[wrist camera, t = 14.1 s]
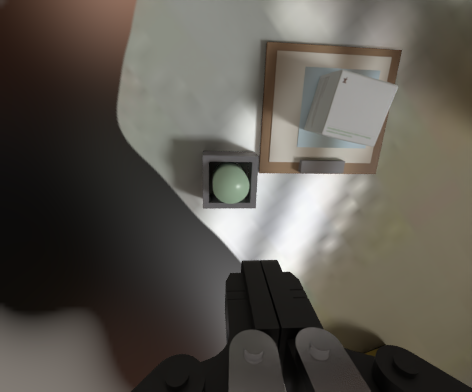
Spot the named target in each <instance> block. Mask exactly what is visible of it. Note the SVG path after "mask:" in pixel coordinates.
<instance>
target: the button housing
mask: <svg viewBox="0 0 472 392" xmlns="http://www.w3.org/2000/svg"><path fill="white" fill-rule="evenodd" d="M258 159H259V156H258V155H257V154H256V153H255V152H234V151H203V208H256V192H257V175H258ZM209 162H248V174H247V178H248V180H249V191H248V194H247V195H246V197H245V198H244V199H243V200H241V201H240V202H238V203H234V204H227V203H224V202H222V201H220V200H219V199H218V198H217V197H216V196H215V194H209Z"/></svg>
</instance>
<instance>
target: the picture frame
mask: <svg viewBox="0 0 472 392" xmlns="http://www.w3.org/2000/svg"><path fill="white" fill-rule="evenodd" d="M401 52H402V50H389V49H373V48H358V47H342V46H326V45H310V44H294V43H278V42H267V46H266V62H265V78H264V95H263V111H262V127H261V143H260V160H259V173H314V174H376V170H377V165H378V160H379V155H380V151H381V146H382V141H383V137H384V132H385V127H386V123H387V118H388V113H389V111H388V113H387V116H386V118H385V121H384V123H383V126H382V128H381V131H380V133H379V136H378V138H377V140H376V143H375V145H374V146H373V147H371V146H366V145H361V144H357V143H352V142H348V141H343V140H339V139H335V138H331V137H327V136H324V135H320V134H317V133H313V132H309V131H305V130H304V127H305V124H306V120H307V117H308V114H309V111H310V108H311V104H312V101H313V98H314V95H315V92H316V88H317V85H318V82H319V79H320V76H322V75H326V74H329V73H332V72H335V71H339V70H342V69H343V70H347V71H350V72H354V73H357V74H361V75H364V76H368V77H371V78H374V79H378V80H382V81H385V82H389V83H392V84H395V80H396V76H397V71H398V66H399V62H400V57H401Z"/></svg>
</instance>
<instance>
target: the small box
mask: <svg viewBox="0 0 472 392" xmlns="http://www.w3.org/2000/svg"><path fill="white" fill-rule="evenodd" d="M397 89H398V86H397V85H395V84H392V83H389V82H385V81H382V80H378V79H374V78H371V77H368V76H364V75H361V74H357V73H354V72H350V71H347V70H343V69H342V70H339V71H335V72H332V73H329V74H326V75H322V76H320V79H319V82H318V85H317V88H316V92H315V95H314V98H313V101H312V104H311V108H310V111H309V114H308V117H307V120H306V124H305V127H304V130H305V131H309V132H313V133H317V134H320V135H324V136H327V137H331V138H335V139H339V140H343V141H348V142H352V143H357V144H361V145H366V146H371V147H373V146H374V145H375V143H376V140H377V138H378V136H379V133H380V131H381V128H382V126H383V123H384V121H385V118H386V116H387V113H388V111H389V108H390V106H391V103H392V101H393V99H394V96H395V94H396V92H397Z"/></svg>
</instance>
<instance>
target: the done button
mask: <svg viewBox="0 0 472 392" xmlns="http://www.w3.org/2000/svg"><path fill="white" fill-rule="evenodd" d="M213 191H214V194H215V196H216V197H217V198H218V199H219V200H220V201H222V202H224V203H227V204H234V203H238V202H240V201H241V200H243V199H244V198H245V197H246V195H247V194H248V191H249V180H248V178H247V176H246V174H245V173H244V171H243V169H242V167H241V166H240V165H239V164H237V163H236V162H222V163H220V164H218V165H217V166H216V168H215V169H214V171H213Z"/></svg>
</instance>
